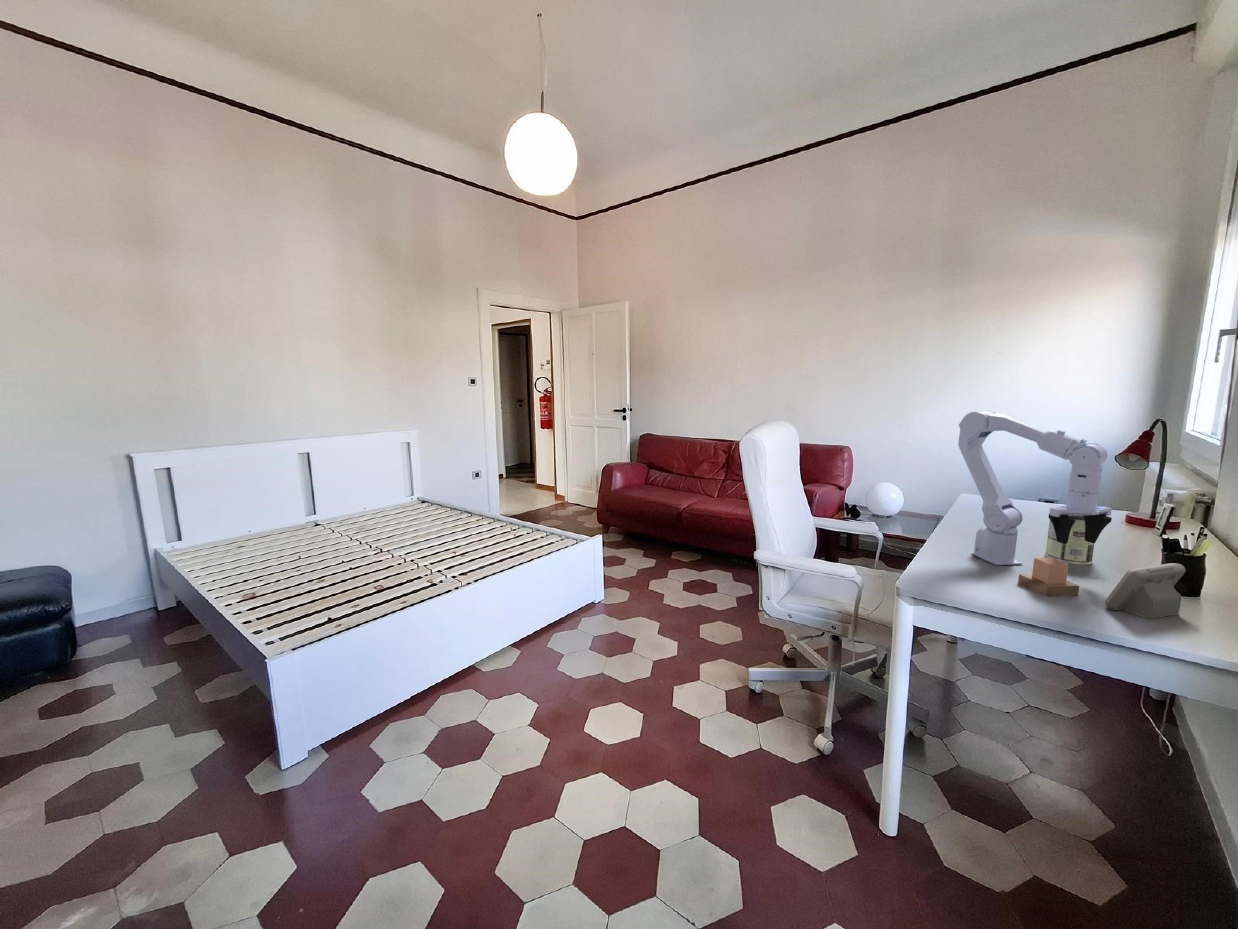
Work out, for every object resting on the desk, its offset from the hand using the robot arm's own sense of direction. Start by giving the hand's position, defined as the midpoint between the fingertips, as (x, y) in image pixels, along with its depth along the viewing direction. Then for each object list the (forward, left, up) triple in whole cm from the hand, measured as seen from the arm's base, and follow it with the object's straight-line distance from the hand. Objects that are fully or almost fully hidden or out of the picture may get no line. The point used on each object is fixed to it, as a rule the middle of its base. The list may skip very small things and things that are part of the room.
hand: (1075, 542), depth 125 cm
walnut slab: (+6, -12, -10) cm, 17 cm away
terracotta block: (+6, -12, -7) cm, 16 cm away
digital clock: (+17, -1, -10) cm, 20 cm away
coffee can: (-14, +13, -10) cm, 22 cm away
